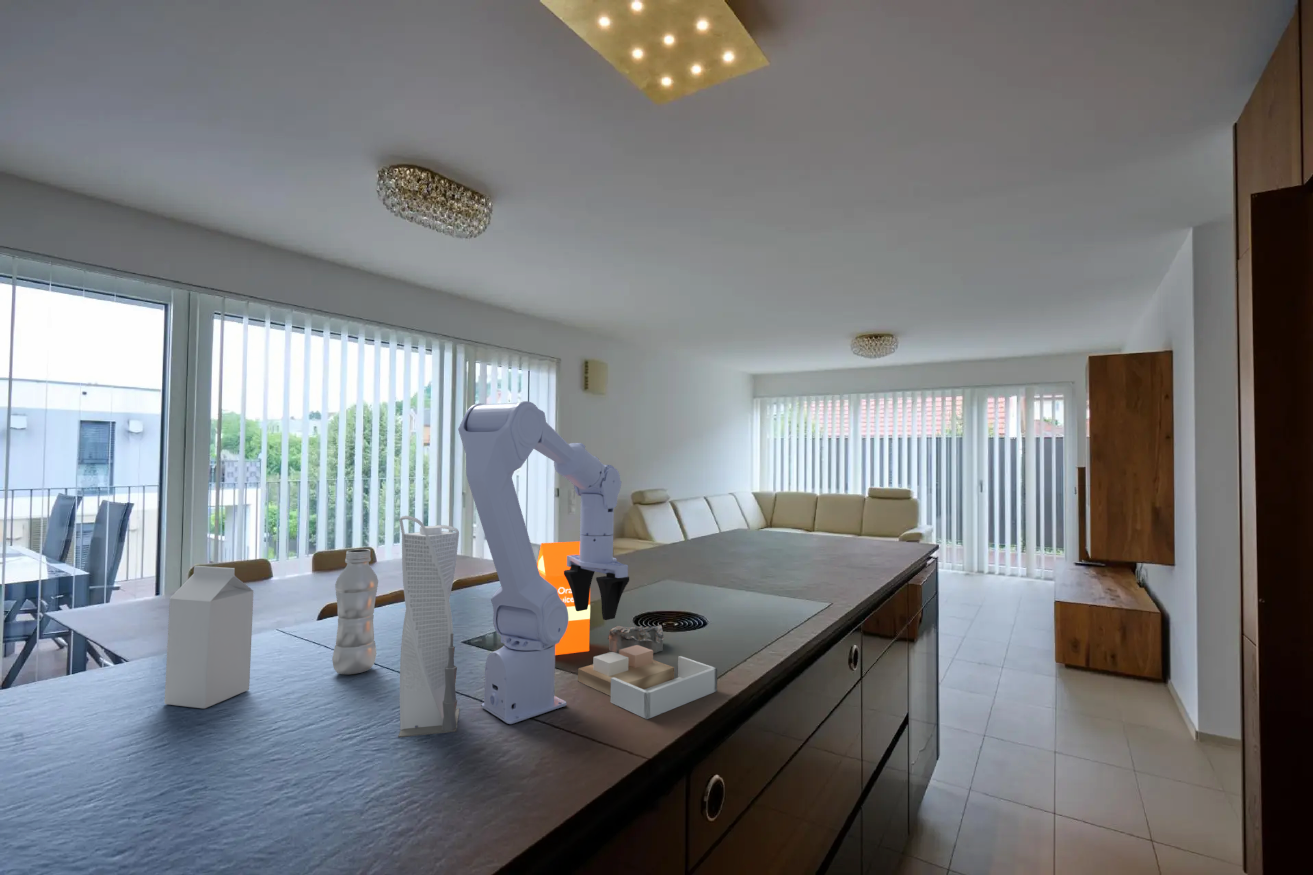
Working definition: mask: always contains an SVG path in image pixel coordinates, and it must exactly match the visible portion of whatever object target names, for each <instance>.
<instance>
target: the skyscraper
mask: <svg viewBox="0 0 1313 875" xmlns="http://www.w3.org/2000/svg"><path fill="white" fill-rule="evenodd" d="M404 520H407V521H408V520H409V521H411V522H415V523H416V524H418V525H419V526H420V527H419V531H418V532H408V533H406V532H405V528H404V522H403V521H404ZM398 521H399V526H400V532H401V560H402V562H401V566H402V584H403V585H402V586H403V595H404V604H405V613H404V619H403V625H402V634H401V642H400V643H401V644H400V659H399V660H400V661H399V662H400V663H399V664H400V666H399V719H400V721H399V726H400V731H399V733H398V737H397V738H405V737H416V736H424V735H434V734H435V735H436V734H444V733H445V734H446V733H455V732H457V728H458V723H459V722H458V721H459V716H460V708H457V704H458V699H457V695H456V694H457V692H456V683H457V671H458V666H456V664H455V658H454V657H455V650H456V646H454V627H453V626H454V625H453V614H452V610H451V608H452V607H451V603H450V599H451V598H450V597H451V593H452V588H453V583H454V578H455V573H456V572H455V571H456V565H457V564H456V563H457V556H458V547H459V536H460V532H459V529H458V528H456V527H454V526H451V525H446V524H445V525H444V524H436V525H424V523H423V522H422V521H421V520H420V519H418V518H416V517H414V516H410V515H402V516H400V518H399V519H398ZM444 529H445V530H449V531H444ZM452 531H453V532H452Z"/></svg>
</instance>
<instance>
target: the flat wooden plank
mask: <svg viewBox="0 0 1313 875" xmlns="http://www.w3.org/2000/svg"><path fill="white" fill-rule="evenodd" d="M613 677H615V678H617V679H620V680H622V681H624V682H627V683H629V684H632V685H634V686H636V687H639V688H641V689H647V688H650V687H653V686H655V685H658V684H661V683H664V682H667V681H670V680H672V679H675V666H672V665H669V664H665V663H663V662H660V661H657V660H655V659H653V663H650V664H647V665H644V666H640V667H637V668H634V667H631V666H628V671H624V672H621V673H618V674H615V675H612V676H607V675H605V674H602V673H600V672H598V671H595V670H593V663H592V664H590V665H589V664H588V665H586V666H582V667H579V668H578V669H577V682H579V683H580V684H583V685H585V686H588V687H590V688H592V689H593V690H596V691H598V692H600V693H603V694H604V695H605V694H606V695H608V696H610V697H611V678H613Z"/></svg>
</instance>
